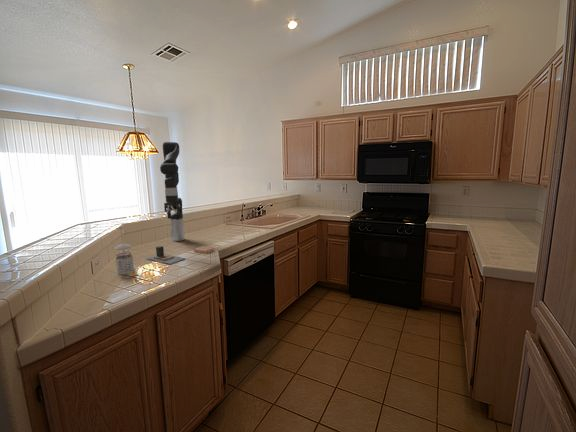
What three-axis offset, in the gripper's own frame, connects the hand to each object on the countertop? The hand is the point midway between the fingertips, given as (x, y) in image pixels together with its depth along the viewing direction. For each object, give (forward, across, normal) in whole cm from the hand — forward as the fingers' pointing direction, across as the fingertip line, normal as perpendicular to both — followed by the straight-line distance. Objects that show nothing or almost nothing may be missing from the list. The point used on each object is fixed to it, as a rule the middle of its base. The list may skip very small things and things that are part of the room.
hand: (173, 219), depth 184 cm
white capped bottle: (+22, -8, +38) cm, 44 cm away
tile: (+22, -11, -9) cm, 26 cm away
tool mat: (+22, -8, +14) cm, 27 cm away
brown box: (+22, -6, +14) cm, 26 cm away
